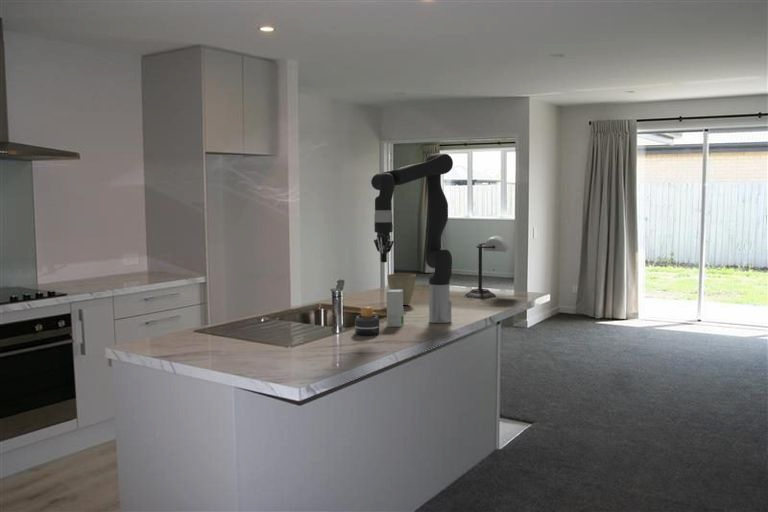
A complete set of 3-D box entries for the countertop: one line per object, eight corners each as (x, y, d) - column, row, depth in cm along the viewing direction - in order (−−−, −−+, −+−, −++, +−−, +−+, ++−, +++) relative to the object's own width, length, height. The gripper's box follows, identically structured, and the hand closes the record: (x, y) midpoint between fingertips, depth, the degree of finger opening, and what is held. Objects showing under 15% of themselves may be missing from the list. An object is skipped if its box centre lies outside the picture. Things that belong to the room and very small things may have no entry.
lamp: (505, 300, 356) (505, 237, 353) (460, 298, 363) (460, 237, 360) (509, 293, 381) (510, 235, 378) (468, 292, 388) (468, 234, 385)
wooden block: (369, 317, 276) (369, 305, 275) (375, 319, 271) (375, 307, 271) (358, 318, 273) (358, 307, 273) (365, 321, 269) (364, 309, 268)
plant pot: (421, 305, 342) (421, 275, 340) (398, 308, 333) (398, 277, 332) (404, 302, 354) (404, 272, 352) (382, 304, 346) (381, 274, 344)
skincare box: (400, 327, 285) (400, 291, 284) (385, 326, 287) (385, 291, 285) (404, 323, 294) (403, 289, 292) (389, 323, 295) (389, 288, 294)
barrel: (371, 330, 280) (371, 313, 279) (384, 334, 271) (383, 317, 270) (350, 332, 275) (350, 315, 274) (362, 337, 266) (362, 319, 265)
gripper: (399, 221, 273) (399, 262, 274) (383, 220, 284) (383, 260, 285) (383, 221, 269) (384, 264, 270) (367, 220, 280) (368, 261, 282)
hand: (383, 262), depth 278 cm, fingers closed
